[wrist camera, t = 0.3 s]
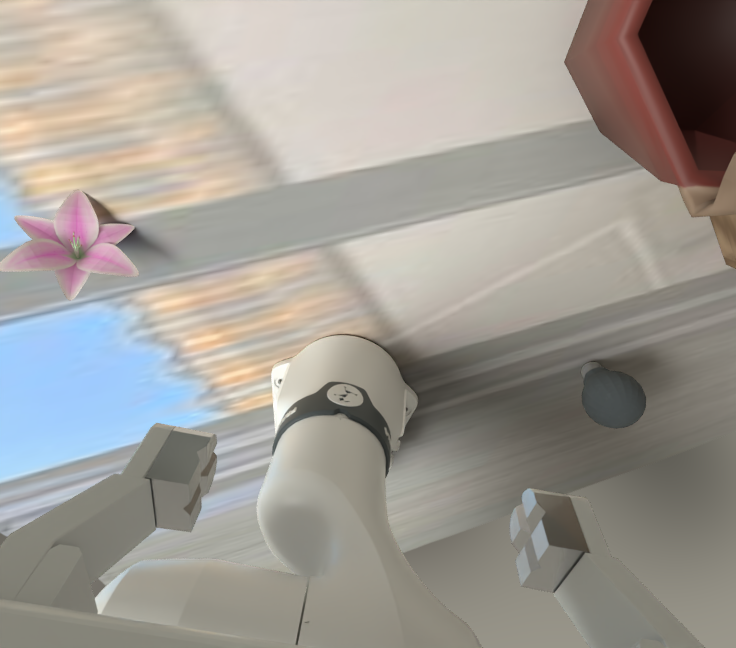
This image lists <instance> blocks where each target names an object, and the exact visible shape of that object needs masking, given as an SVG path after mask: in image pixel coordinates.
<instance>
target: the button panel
mask: <svg viewBox="0 0 736 648" xmlns="http://www.w3.org/2000/svg"><path fill="white" fill-rule="evenodd" d="M710 219H711V222H712V225H713V227H714V230H715V233H716V236H717V239H718V242H719V245H720V248H721V251H722V254H723V257H724V259H725V262H726V265H729V266H731V267H733V268H735V269H736V214H735V215H719V216H710Z"/></svg>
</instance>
